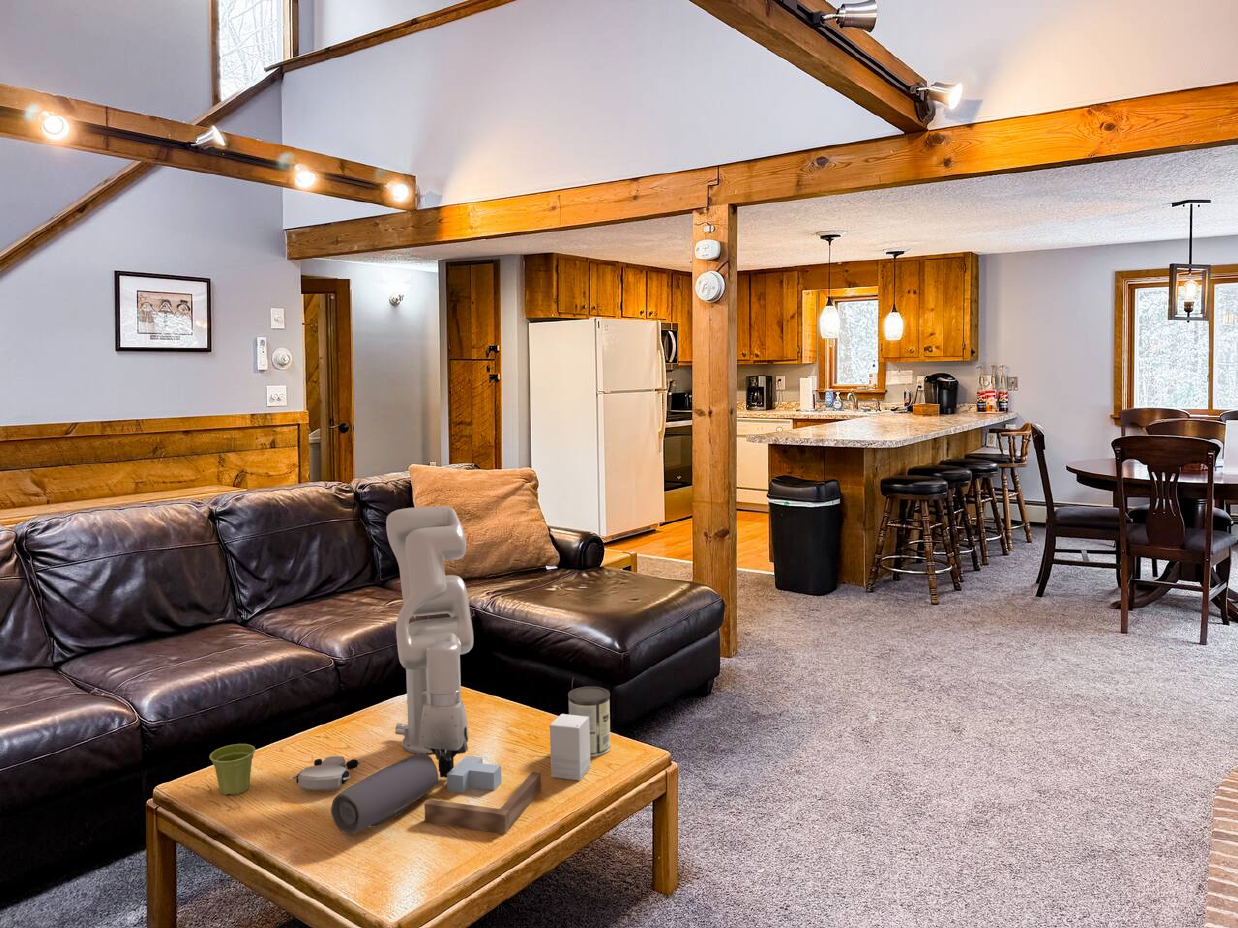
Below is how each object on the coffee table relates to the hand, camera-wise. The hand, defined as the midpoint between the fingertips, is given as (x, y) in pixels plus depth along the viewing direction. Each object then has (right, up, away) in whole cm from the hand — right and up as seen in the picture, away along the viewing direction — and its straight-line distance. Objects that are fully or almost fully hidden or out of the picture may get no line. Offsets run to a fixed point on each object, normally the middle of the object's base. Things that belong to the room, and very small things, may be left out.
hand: (446, 774), depth 206 cm
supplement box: (+28, -1, +4) cm, 28 cm away
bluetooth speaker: (-9, -3, -16) cm, 19 cm away
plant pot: (-47, -2, -4) cm, 47 cm away
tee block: (+6, -1, -2) cm, 7 cm away
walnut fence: (+11, -2, -12) cm, 17 cm away
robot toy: (-27, -2, 0) cm, 27 cm away
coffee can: (+32, 0, +17) cm, 36 cm away
